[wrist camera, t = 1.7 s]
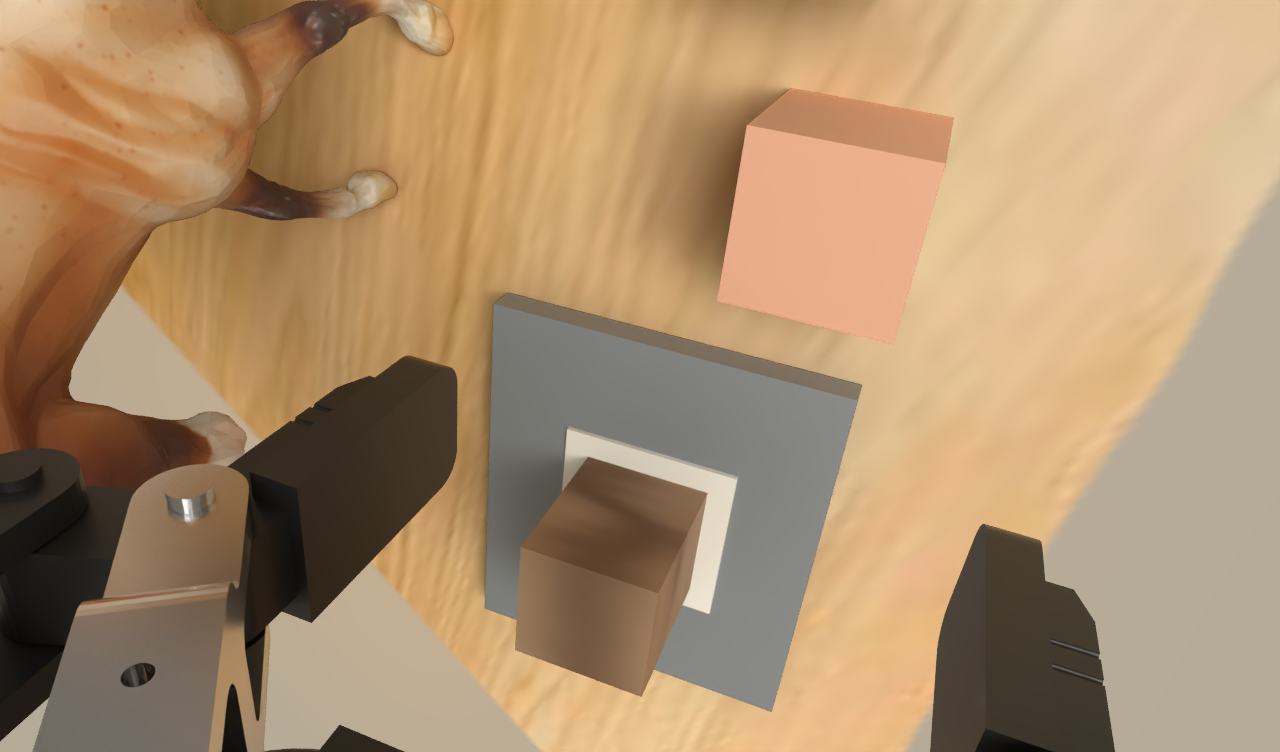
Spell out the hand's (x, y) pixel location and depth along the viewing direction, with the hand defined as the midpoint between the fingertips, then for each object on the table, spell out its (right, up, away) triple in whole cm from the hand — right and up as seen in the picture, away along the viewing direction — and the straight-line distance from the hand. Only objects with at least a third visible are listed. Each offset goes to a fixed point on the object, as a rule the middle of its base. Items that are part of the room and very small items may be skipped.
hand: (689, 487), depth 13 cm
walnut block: (-1, -4, +22) cm, 23 cm away
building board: (0, -4, +24) cm, 24 cm away
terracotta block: (+6, +8, +15) cm, 18 cm away
